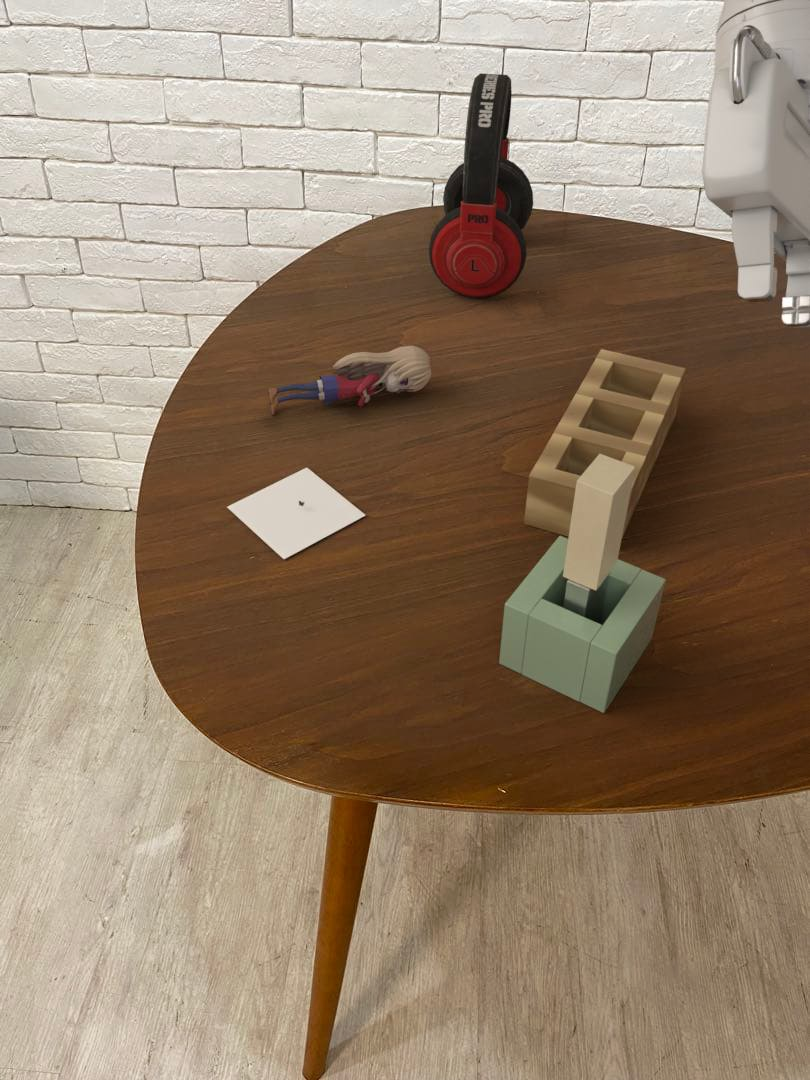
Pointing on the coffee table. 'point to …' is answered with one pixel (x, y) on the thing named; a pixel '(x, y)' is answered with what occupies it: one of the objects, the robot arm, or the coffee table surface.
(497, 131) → the headphones
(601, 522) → the knife
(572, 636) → the holder
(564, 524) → the rack
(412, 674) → the coffee table surface
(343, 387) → the figurine
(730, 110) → the robot arm
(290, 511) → the white flat sheet
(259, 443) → the coffee table surface
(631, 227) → the coffee table surface
